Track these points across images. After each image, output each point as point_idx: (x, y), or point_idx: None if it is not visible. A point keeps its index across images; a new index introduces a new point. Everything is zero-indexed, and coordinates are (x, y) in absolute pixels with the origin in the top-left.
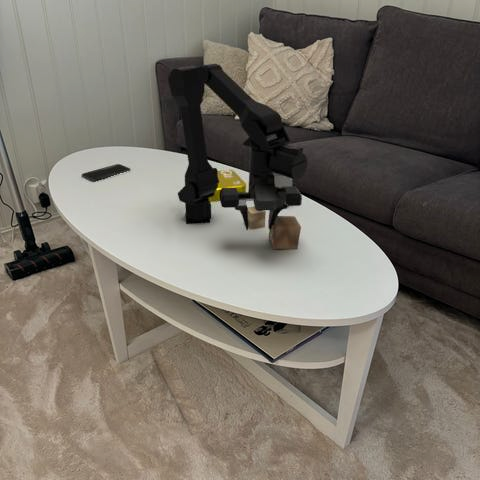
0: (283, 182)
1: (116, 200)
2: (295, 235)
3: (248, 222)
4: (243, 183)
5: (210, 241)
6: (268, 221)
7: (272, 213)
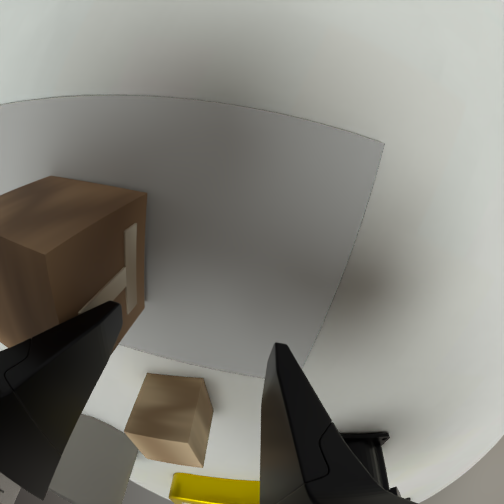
0: (63, 478)
1: (424, 476)
2: (7, 200)
3: (204, 412)
4: (174, 500)
5: (393, 354)
6: (104, 360)
7: (27, 387)
